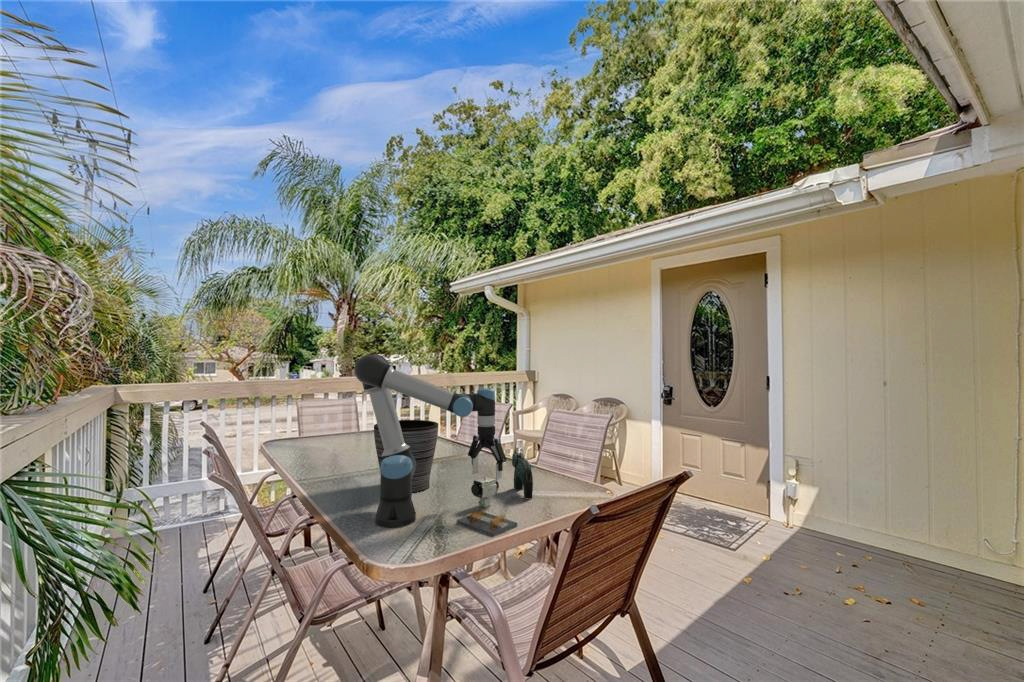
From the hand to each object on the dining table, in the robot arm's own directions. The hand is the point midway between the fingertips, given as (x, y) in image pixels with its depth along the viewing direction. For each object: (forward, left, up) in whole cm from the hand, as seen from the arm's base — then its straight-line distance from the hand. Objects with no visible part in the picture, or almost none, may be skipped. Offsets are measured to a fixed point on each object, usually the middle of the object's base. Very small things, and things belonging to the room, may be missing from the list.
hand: (486, 476), depth 194 cm
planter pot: (-6, +47, -13) cm, 49 cm away
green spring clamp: (+25, 0, -13) cm, 28 cm away
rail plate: (-15, -15, -13) cm, 25 cm away
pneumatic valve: (0, 0, -13) cm, 13 cm away
